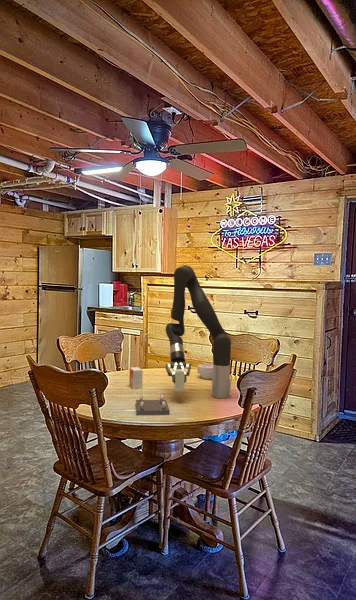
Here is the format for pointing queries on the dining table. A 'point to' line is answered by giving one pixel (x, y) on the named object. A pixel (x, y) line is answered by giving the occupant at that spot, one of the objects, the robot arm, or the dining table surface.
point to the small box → (135, 377)
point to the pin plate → (152, 406)
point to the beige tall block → (179, 380)
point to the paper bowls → (205, 371)
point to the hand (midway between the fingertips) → (179, 382)
